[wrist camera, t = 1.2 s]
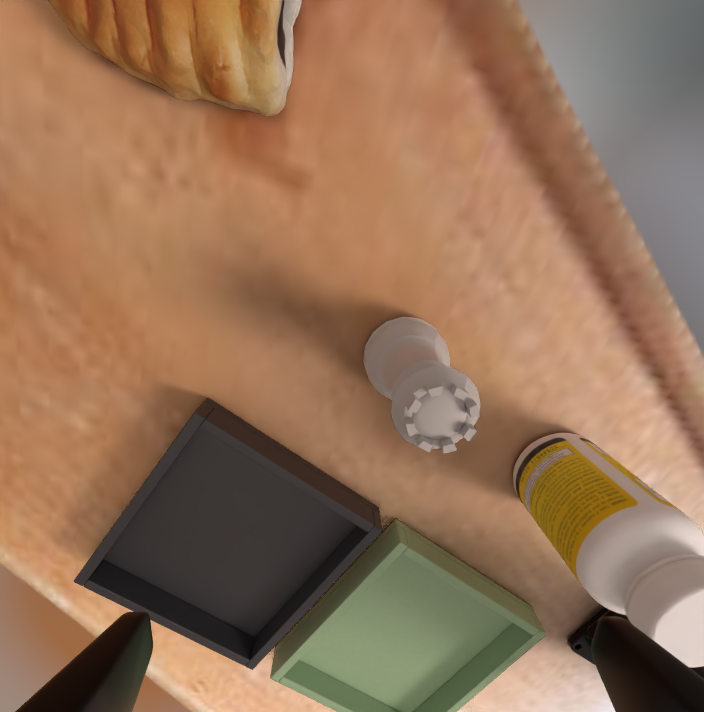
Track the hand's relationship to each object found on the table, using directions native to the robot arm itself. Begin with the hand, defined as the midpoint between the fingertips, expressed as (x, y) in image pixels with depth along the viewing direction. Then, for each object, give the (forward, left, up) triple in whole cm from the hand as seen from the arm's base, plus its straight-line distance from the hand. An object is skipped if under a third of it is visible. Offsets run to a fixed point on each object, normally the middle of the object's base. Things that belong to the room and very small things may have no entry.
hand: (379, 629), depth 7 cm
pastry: (+15, -9, -14) cm, 22 cm away
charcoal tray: (0, +12, -14) cm, 18 cm away
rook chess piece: (-1, -3, -14) cm, 14 cm away
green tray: (-14, +12, -14) cm, 23 cm away
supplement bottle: (-13, -3, -14) cm, 19 cm away
